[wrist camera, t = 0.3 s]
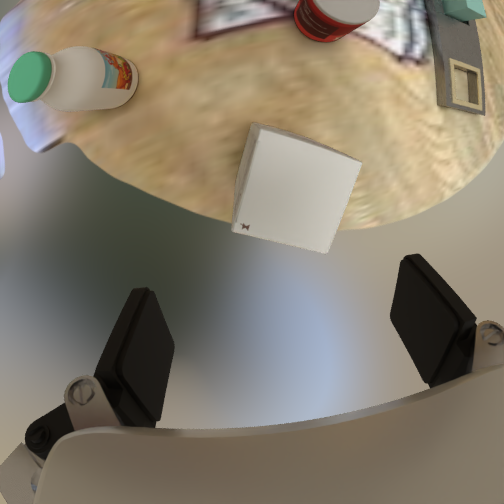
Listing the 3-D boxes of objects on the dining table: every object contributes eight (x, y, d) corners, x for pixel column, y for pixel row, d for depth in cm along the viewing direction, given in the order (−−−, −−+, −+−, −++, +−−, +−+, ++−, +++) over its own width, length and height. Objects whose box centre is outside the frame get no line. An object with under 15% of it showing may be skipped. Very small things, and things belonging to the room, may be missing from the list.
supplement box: (296, 201, 40) (327, 259, 26) (233, 185, 39) (228, 236, 24) (316, 139, 36) (366, 161, 21) (251, 119, 35) (259, 125, 20)
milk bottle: (133, 111, 33) (46, 121, 15) (87, 106, 32) (-9, 121, 14) (145, 59, 30) (66, 28, 12) (98, 57, 28) (6, 40, 11)
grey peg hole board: (418, -21, 21) (427, -25, 19) (460, -3, 21) (469, -5, 19) (437, 104, 33) (447, 106, 30) (476, 113, 33) (486, 115, 30)
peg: (433, -6, 22) (461, -16, 15) (452, 2, 22) (480, -5, 15) (438, 15, 24) (467, 7, 17) (457, 22, 24) (486, 17, 17)
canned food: (349, 6, 26) (382, -19, 16) (342, 50, 30) (376, 34, 20) (297, -9, 25) (315, -43, 16) (288, 35, 29) (306, 10, 19)
